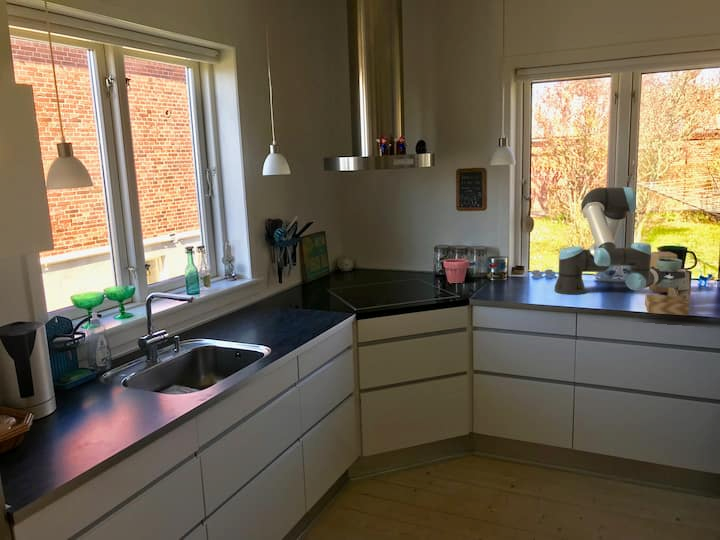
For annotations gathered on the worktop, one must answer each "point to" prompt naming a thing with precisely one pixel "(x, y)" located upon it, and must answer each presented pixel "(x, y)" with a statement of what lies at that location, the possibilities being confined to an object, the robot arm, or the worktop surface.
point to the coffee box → (682, 287)
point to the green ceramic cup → (669, 266)
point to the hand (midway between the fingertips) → (672, 270)
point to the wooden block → (654, 264)
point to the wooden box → (666, 304)
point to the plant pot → (455, 270)
